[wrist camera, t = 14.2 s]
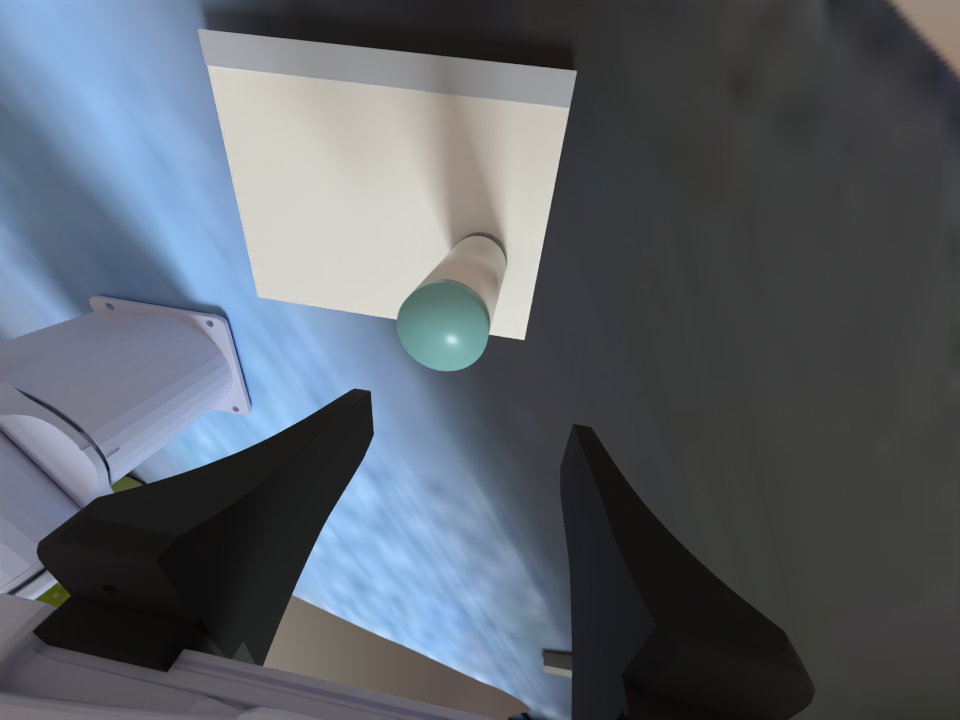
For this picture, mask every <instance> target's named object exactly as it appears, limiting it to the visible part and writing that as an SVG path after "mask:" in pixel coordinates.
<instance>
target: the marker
mask: <svg viewBox="0 0 960 720" xmlns="http://www.w3.org/2000/svg"><path fill="white" fill-rule="evenodd" d="M506 268H507V253H506V250H505V248H504V246H503V245H502V243H501V242H500V241H499V240H498V239H497V238H496V237H494V236H493V235H491V234H488V233H484V232H475V233H471V234H469V235H467V236H465V237H464V238H463V239H462V240H460V242H459V243H458V244H457V245H456V246H455V247H454V248H453V249H452V250H451V251H450V252H449V253H448V254H447V256H446V257H445V258H444V259H443V260H442V261H441V262H440V263H439V264H438V265H437V266H436V267H435V268H434V270H433V271H432V272H431V273H430V274H429V275H428V276H427V277H426V278H425V279H424V280H423V281H422V282H421V283H420V285H419V286H418V287H417V288H416V289H415V290H414V291H413V292H412V293H411V294H410V295H409V296H408V297H407V299H406V300H405V301H404V302H403V304H402V305H401V307H400V310H399V312H398V316H397V331H398V336H399V338H400V341H401V343H402V345H403V347H404V348H405V350H406V351H407V352H408V353H409V354H410V355H411V356H412V357H413V358H414V359H415V360H416V361H418V362H419V363H421V364H423V365H424V366H427V367H429V368H432V369H435V370H440V371H455V370H459V369H463V368H465V367H467V366H469V365H471V364H472V363H474V362H475V361H476V360H477V359H478V358H479V357H480V356H481V354H482V353H483V351H484V349H485V347H486V344H487V340H488V336H489V332H490V329H491V325H492V321H493V317H494V313H495V309H496V306H497V302H498V298H499V294H500V290H501V287H502V283H503V279H504V275H505V271H506Z"/></svg>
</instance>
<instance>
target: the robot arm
mask: <svg viewBox="0 0 960 720" xmlns="http://www.w3.org/2000/svg"><path fill="white" fill-rule="evenodd" d="M89 303H90V305H91V307H92V309H93V312H91V313H88V314H85V315H82V316H79V317H76V318H73V319H70V320H67V321H64V322H61V323H58V324H55V325H53V326H50V327H47V328H44V329H41V330H38V331H35V332H32V333H29V334H26V335H23V336H20V337H17V338H14V339H11V340H8V341H5V342H2V343H0V720H498V719H494V718H490V717H485V716H481V715H477V714H472V713H467V712H463V711H459V710H454V709H449V708H445V707H441V706H437V705H432V704H428V703H423V702H419V701H414V700H410V699H405V698H401V697H396V696H392V695H388V694H383V693H379V692H374V691H370V690H366V689H361V688H356V687H352V686H348V685H343V684H338V683H334V682H330V681H325V680H321V679H317V678H312V677H308V676H303V675H298V674H295V673H290V672H286V671H281V670H277V669H272V668H268V667H263V664H264V662H265V659H266V656H267V654H268V651H269V649H270V646H271V644H272V641H273V639H274V636H275V634H276V631H277V629H278V626H279V624H280V621H281V619H282V616H283V614H284V612H285V609H286V607H287V604H288V602H289V600H290V597H291V595H292V593H293V591H294V588H295V586H296V584H297V581H298V579H299V577H300V575H301V573H302V570H303V568H304V566H305V564H306V562H307V559H308V557H309V555H310V553H311V551H312V549H313V547H314V544H315V542H316V540H317V538H318V536H319V534H320V532H321V530H322V528H323V526H324V524H325V522H326V520H327V519H328V517H329V515H330V513H331V512H332V510H333V508H334V507H335V505H336V503H337V502H338V500H339V498H340V497H341V495H342V493H343V492H344V490H345V489H346V487H347V485H348V484H349V482H350V480H351V479H352V477H353V475H354V474H355V472H356V470H357V469H358V467H359V465H360V464H361V462H362V460H363V458H364V456H365V454H366V452H367V449H368V447H369V445H370V442H371V440H372V438H373V435H374V430H373V417H372V403H371V391H367V390H361V389H353V390H351V391H349V392H347V393H346V394H344V395H342V396H341V397H339V398H338V399H336V400H334V401H333V402H331V403H330V404H328V405H326V406H325V407H323V408H321V409H320V410H318V411H317V412H315V413H313V414H312V415H310V416H308V417H307V418H305V419H303V420H301V421H300V422H298V423H296V424H294V425H292V426H291V427H289V428H287V429H285V430H283V431H282V432H280V433H278V434H276V435H274V436H272V437H270V438H268V439H266V440H264V441H262V442H260V443H258V444H255V445H253V446H251V447H249V448H247V449H245V450H242V451H240V452H238V453H235V454H233V455H230V456H228V457H225V458H222V459H220V460H217V461H215V462H212V463H210V464H207V465H205V466H202V467H199V468H196V469H193V470H190V471H187V472H185V473H182V474H178V475H175V476H172V477H169V478H166V479H163V480H159V481H156V482H153V483H149V484H146V485H142V486H138V487H135V488H131V489H127V490H123V491H120V492H116V493H114V492H113V490H112V489H111V487H110V486H111V485H113V484H114V483H115V482H117V481H118V480H119V479H121V478H122V477H123V476H125V475H126V474H127V473H129V472H130V471H131V470H132V469H134V468H135V467H136V466H138V465H139V464H140V463H142V462H143V461H144V460H146V459H147V458H148V457H149V456H151V455H152V454H153V453H155V452H156V451H157V450H159V449H160V448H161V447H163V446H164V445H165V444H166V443H168V442H169V441H170V440H172V439H173V438H174V437H176V436H177V435H178V434H180V433H181V432H182V431H184V430H185V429H186V428H187V427H189V426H190V425H191V424H193V423H194V422H195V421H197V420H198V419H199V418H201V417H202V416H203V415H204V414H206V413H207V412H208V411H210V410H211V409H214V410H219V411H224V412H230V413H235V414H241V415H247V414H249V413H250V412H251V405H250V401H249V398H248V394H247V391H246V387H245V383H244V380H243V376H242V372H241V369H240V365H239V361H238V358H237V354H236V350H235V347H234V343H233V339H232V336H231V332H230V329H229V325H228V322H227V320H226V319H225V318H223V317H222V316H219V315H213V314H207V313H201V312H195V311H189V310H183V309H177V308H171V307H165V306H159V305H153V304H147V303H141V302H135V301H129V300H123V299H117V298H111V297H104V296H93V297H90V298H89ZM211 321H212V322H213V323H212V322H211ZM560 487H561V502H562V510H563V518H564V526H565V533H566V541H567V549H568V557H569V567H570V586H571V623H572V720H788V719H790V718H791V717H793V716H794V715H796V714H797V713H799V712H800V711H802V710H804V709H805V708H806V707H807V706H808V705H809V704H810V703H811V702H812V700H813V697H814V693H815V688H814V686H813V683H812V681H811V679H810V677H809V675H808V673H807V672H806V670H805V668H804V666H803V664H802V662H801V660H800V658H799V656H798V654H797V652H796V651H795V649H794V647H793V645H792V644H791V642H790V640H789V638H788V637H787V635H786V634H785V632H784V631H783V630H782V629H781V628H779V627H778V626H777V625H775V624H774V623H773V622H772V621H770V620H769V619H768V618H766V617H765V616H764V615H763V614H761V613H760V612H759V611H758V610H756V609H755V608H754V607H752V606H751V605H750V604H749V603H747V602H746V601H745V600H743V599H742V598H741V597H740V596H738V595H737V594H736V593H735V592H734V591H733V590H731V589H730V588H729V587H728V586H727V585H726V584H724V583H723V582H722V581H721V580H720V579H719V578H717V577H716V576H715V575H714V574H713V573H712V572H711V571H709V570H708V569H707V568H706V567H705V566H704V565H703V564H702V563H701V562H700V561H698V560H697V559H696V558H695V557H694V556H693V555H692V554H691V553H690V552H689V551H688V550H687V549H686V548H685V547H684V546H683V545H682V544H681V543H680V542H679V541H678V540H677V539H676V538H675V537H674V536H673V535H672V534H671V533H670V532H669V531H668V530H667V529H666V528H665V527H664V525H663V524H662V523H661V522H660V521H659V520H658V519H657V518H656V517H655V515H654V514H653V513H652V512H651V511H650V510H649V509H648V507H647V506H646V505H645V504H644V503H643V501H642V500H641V499H640V498H639V496H638V495H637V494H636V493H635V491H634V490H633V489H632V487H631V486H630V485H629V483H628V482H627V481H626V479H625V478H624V476H623V475H622V473H621V472H620V471H619V469H618V468H617V466H616V465H615V463H614V462H613V460H612V459H611V457H610V456H609V454H608V453H607V451H606V450H605V448H604V446H603V445H602V443H601V442H600V440H599V438H598V437H597V435H596V434H595V432H594V431H593V429H592V428H591V427H587V426H581V425H575V424H573V426H572V430H571V433H570V436H569V440H568V443H567V446H566V450H565V453H564V456H563V460H562V463H561V467H560ZM57 582H59V583H60V584H61V585H62V586H63V588H64V589H65V590H66V591H67V592H68V593H69V594H70V595H71V596H70V597H69V598H68V599H67V600H66V601H65V602H64V603H63V604H62V605H61V606H59V607H58V608H57V609H56V608H55V607H53V606H51V605H49V604H47V603H44V602H41V601H37V600H35V599H36V598H38V597H39V596H40V595H42V594H43V593H44V592H46V591H47V590H48V589H50V588H51V587H52V586H53V585H55V584H56V583H57Z"/></svg>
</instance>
